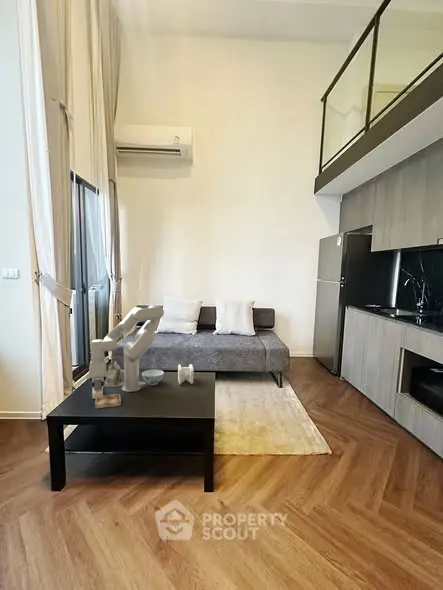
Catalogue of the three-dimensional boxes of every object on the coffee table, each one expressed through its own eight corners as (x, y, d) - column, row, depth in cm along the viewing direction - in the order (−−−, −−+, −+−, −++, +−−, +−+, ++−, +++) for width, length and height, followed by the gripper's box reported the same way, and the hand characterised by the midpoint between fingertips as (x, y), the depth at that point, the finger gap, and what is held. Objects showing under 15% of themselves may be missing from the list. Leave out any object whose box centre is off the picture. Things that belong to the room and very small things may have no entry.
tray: (119, 397, 195) (119, 393, 195) (120, 405, 184) (120, 401, 184) (95, 400, 191) (95, 396, 190) (95, 408, 179) (95, 404, 179)
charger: (101, 390, 204) (101, 377, 203) (101, 394, 198) (101, 380, 198) (94, 391, 202) (94, 378, 202) (94, 394, 197) (94, 381, 196)
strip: (102, 386, 213) (102, 381, 213) (102, 397, 195) (102, 391, 194) (93, 387, 211) (93, 381, 211) (92, 398, 193) (92, 392, 192)
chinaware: (145, 379, 230) (145, 369, 229) (165, 380, 229) (165, 370, 229) (139, 386, 215) (139, 375, 214) (160, 387, 214) (161, 376, 214)
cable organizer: (177, 378, 234) (178, 363, 233) (192, 378, 236) (192, 363, 235) (178, 385, 219) (178, 369, 218) (193, 385, 221) (194, 369, 220)
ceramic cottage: (100, 385, 216) (102, 363, 215) (117, 379, 231) (118, 359, 230) (119, 390, 210) (121, 368, 209) (134, 383, 225) (136, 363, 225)
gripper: (111, 356, 205) (111, 384, 206) (83, 358, 199) (83, 386, 201) (111, 359, 198) (111, 388, 199) (83, 361, 192) (83, 391, 194)
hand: (97, 387), depth 200 cm, fingers closed on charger, 3 cm apart
